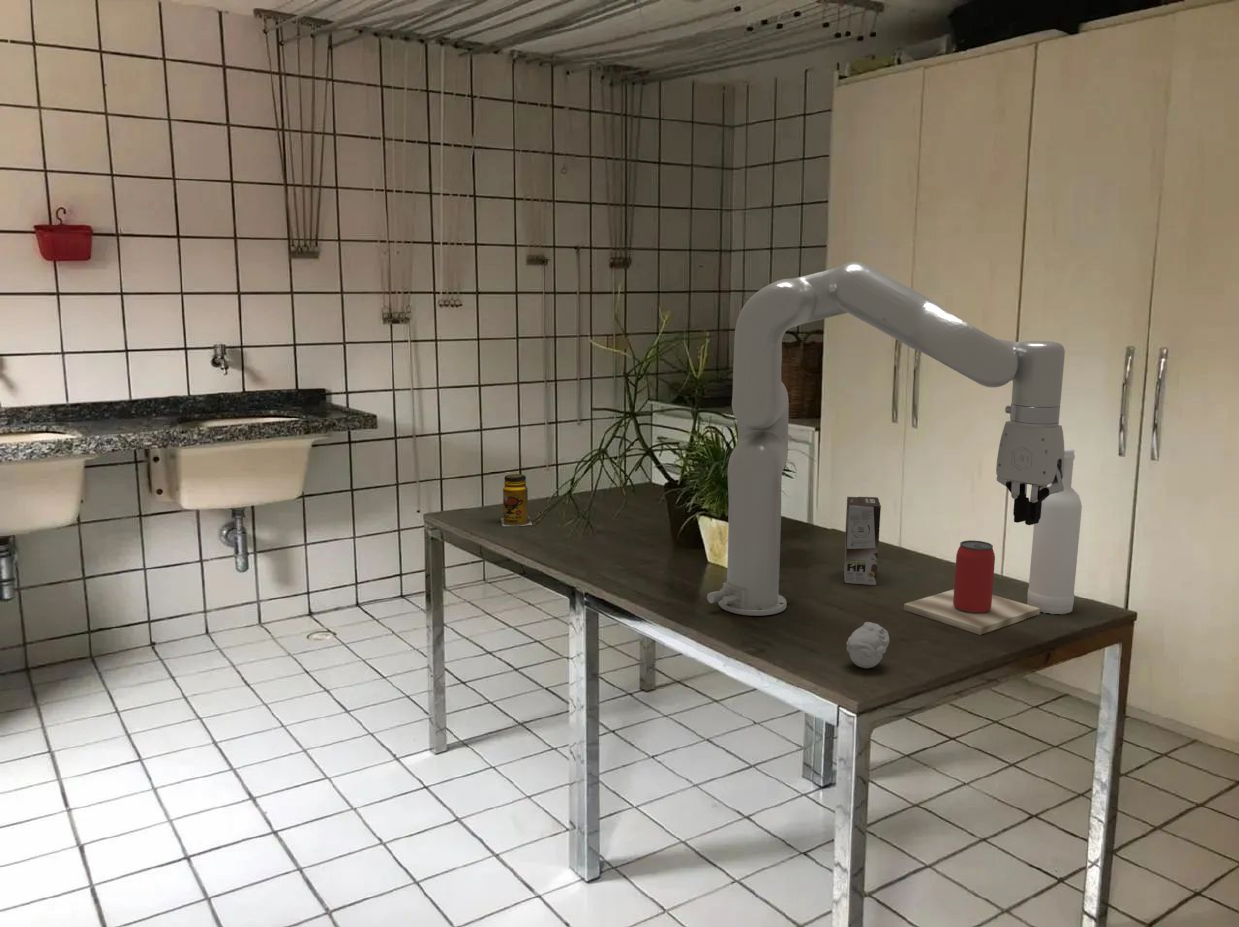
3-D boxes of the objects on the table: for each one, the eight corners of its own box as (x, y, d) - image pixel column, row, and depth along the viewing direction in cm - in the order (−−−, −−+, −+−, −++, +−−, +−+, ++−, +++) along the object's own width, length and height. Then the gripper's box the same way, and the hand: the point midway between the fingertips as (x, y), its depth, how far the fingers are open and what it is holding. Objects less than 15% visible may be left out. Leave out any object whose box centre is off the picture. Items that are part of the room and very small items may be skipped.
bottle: (1028, 598, 190) (1041, 443, 185) (1073, 604, 187) (1088, 446, 181) (1025, 611, 183) (1038, 449, 178) (1072, 617, 180) (1087, 453, 174)
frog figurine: (896, 669, 156) (899, 626, 155) (863, 677, 152) (865, 634, 151) (869, 656, 161) (871, 614, 160) (835, 664, 158) (837, 622, 156)
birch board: (980, 634, 171) (980, 628, 171) (903, 609, 184) (904, 603, 183) (1039, 614, 181) (1039, 608, 181) (963, 592, 194) (963, 586, 194)
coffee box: (877, 585, 198) (881, 506, 195) (844, 583, 199) (847, 504, 196) (875, 572, 207) (879, 496, 204) (843, 570, 208) (846, 495, 205)
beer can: (970, 616, 177) (975, 550, 174) (944, 605, 182) (949, 541, 180) (999, 611, 179) (1004, 546, 177) (972, 600, 185) (977, 538, 183)
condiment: (502, 527, 243) (501, 478, 241) (500, 518, 252) (499, 472, 249) (532, 525, 245) (531, 477, 242) (529, 517, 253) (528, 471, 251)
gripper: (980, 412, 171) (973, 516, 174) (1066, 423, 159) (1057, 535, 162) (1006, 409, 175) (998, 511, 179) (1091, 419, 163) (1081, 528, 166)
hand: (1026, 522), depth 170 cm, fingers closed
